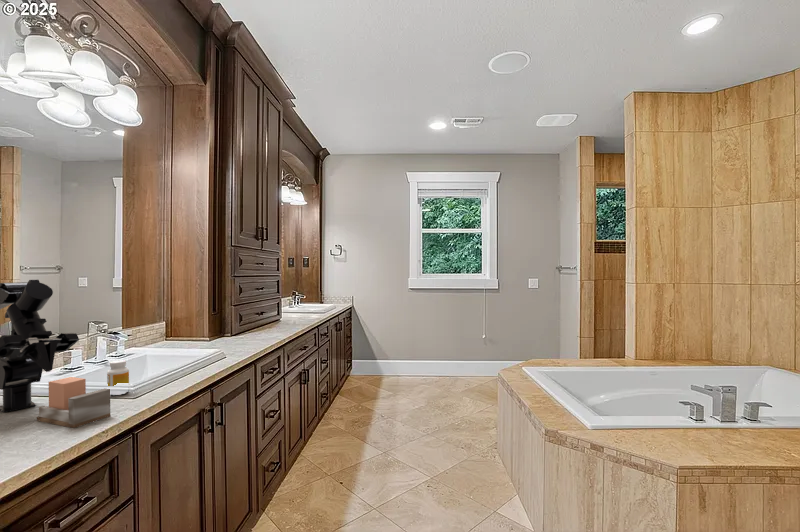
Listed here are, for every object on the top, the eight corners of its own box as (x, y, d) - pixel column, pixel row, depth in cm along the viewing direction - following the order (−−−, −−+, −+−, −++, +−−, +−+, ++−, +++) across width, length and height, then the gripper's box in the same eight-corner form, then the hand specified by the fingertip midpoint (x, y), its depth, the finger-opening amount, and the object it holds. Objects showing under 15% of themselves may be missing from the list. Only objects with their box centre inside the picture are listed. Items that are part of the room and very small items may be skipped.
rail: (36, 420, 103) (36, 393, 103) (74, 409, 111) (73, 384, 111) (74, 428, 97) (73, 399, 97) (110, 416, 105) (110, 389, 105)
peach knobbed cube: (47, 411, 104) (47, 381, 104) (69, 405, 109) (69, 376, 109) (63, 414, 101) (63, 384, 101) (85, 408, 106) (85, 378, 106)
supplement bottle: (133, 391, 127) (133, 359, 127) (119, 396, 121) (119, 363, 121) (117, 391, 127) (116, 359, 127) (102, 396, 122) (102, 363, 122)
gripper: (42, 338, 121) (63, 383, 117) (-37, 341, 103) (-15, 395, 99) (69, 315, 120) (91, 360, 116) (-6, 314, 102) (18, 368, 98)
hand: (49, 370), depth 108 cm, fingers closed
